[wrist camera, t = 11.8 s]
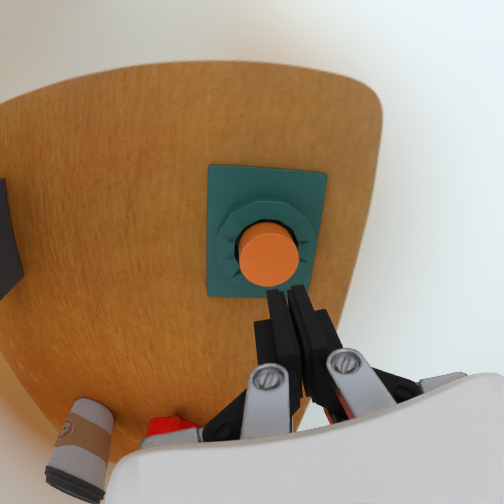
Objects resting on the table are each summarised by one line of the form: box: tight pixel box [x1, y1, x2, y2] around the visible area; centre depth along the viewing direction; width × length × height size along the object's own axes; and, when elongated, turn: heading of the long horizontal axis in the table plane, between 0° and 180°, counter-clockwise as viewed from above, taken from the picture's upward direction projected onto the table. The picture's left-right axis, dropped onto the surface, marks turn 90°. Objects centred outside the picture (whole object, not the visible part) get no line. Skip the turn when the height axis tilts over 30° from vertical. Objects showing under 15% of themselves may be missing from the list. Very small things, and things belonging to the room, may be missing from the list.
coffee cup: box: [45, 398, 114, 504], centre depth 23 cm, size 8×8×15 cm
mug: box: [146, 416, 199, 437], centre depth 28 cm, size 8×12×8 cm, turn 170°
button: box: [239, 222, 299, 287], centre depth 17 cm, size 4×4×2 cm
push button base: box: [207, 165, 327, 298], centre depth 19 cm, size 10×8×2 cm
